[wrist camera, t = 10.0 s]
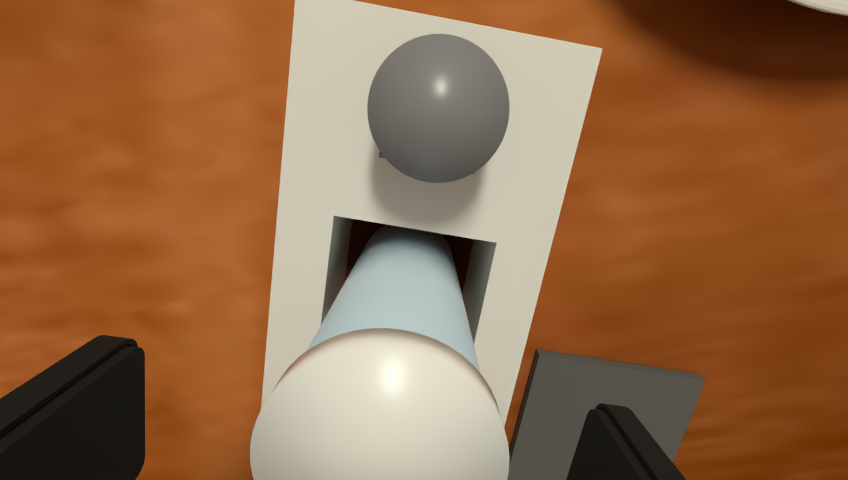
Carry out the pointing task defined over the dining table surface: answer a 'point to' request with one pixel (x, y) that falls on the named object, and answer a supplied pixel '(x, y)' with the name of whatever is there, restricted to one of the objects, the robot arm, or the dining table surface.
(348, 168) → the housing
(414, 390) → the cartridge
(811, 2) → the dinner plate
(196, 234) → the dining table surface
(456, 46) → the plunger
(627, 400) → the mat
